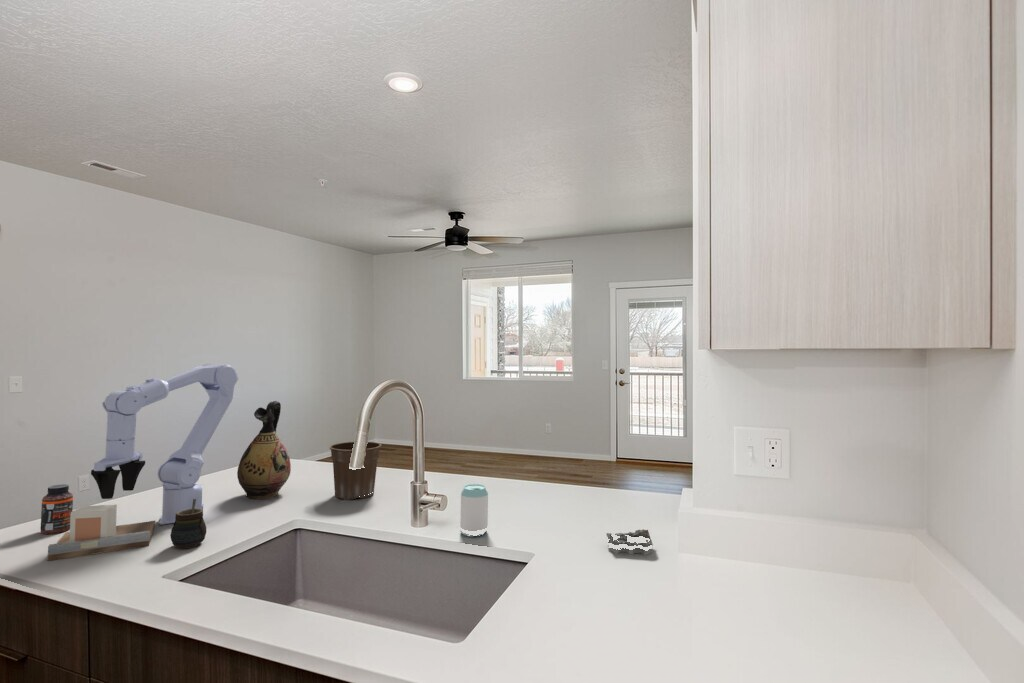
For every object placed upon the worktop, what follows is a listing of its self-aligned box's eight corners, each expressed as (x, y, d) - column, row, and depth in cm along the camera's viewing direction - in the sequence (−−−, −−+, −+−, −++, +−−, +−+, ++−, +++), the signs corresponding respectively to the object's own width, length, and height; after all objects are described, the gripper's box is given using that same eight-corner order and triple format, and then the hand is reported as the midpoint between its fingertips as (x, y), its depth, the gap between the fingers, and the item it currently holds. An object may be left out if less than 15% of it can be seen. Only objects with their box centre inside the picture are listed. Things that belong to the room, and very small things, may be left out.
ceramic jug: (276, 502, 154) (278, 404, 155) (226, 501, 155) (229, 403, 155) (300, 487, 171) (302, 399, 172) (255, 486, 172) (257, 398, 172)
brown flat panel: (154, 525, 133) (154, 520, 133) (148, 545, 119) (149, 540, 119) (65, 537, 124) (65, 532, 124) (47, 560, 110) (47, 555, 110)
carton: (81, 540, 119) (82, 506, 119) (115, 538, 120) (116, 504, 121) (69, 547, 114) (70, 512, 115) (105, 545, 116) (106, 510, 116)
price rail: (149, 539, 120) (149, 530, 120) (148, 540, 119) (149, 532, 119) (49, 553, 111) (49, 544, 111) (47, 555, 110) (48, 546, 110)
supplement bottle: (52, 536, 125) (54, 489, 125) (33, 533, 126) (35, 488, 126) (78, 527, 130) (79, 483, 131) (59, 525, 132) (61, 482, 132)
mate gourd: (167, 553, 115) (169, 509, 115) (172, 542, 122) (173, 500, 122) (204, 548, 118) (205, 505, 119) (207, 537, 125) (208, 497, 125)
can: (492, 531, 132) (492, 485, 133) (479, 540, 126) (480, 491, 126) (468, 526, 135) (469, 482, 135) (455, 535, 129) (455, 488, 129)
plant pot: (343, 487, 173) (344, 439, 173) (388, 489, 171) (388, 441, 171) (318, 500, 157) (319, 448, 157) (367, 503, 155) (368, 450, 155)
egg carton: (650, 545, 124) (650, 529, 125) (653, 558, 117) (653, 540, 117) (606, 542, 126) (606, 525, 126) (607, 554, 119) (607, 536, 119)
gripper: (117, 444, 119) (114, 502, 118) (155, 435, 133) (153, 486, 133) (85, 443, 118) (82, 502, 117) (127, 434, 132) (124, 486, 132)
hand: (117, 494), depth 125 cm, fingers open, 7 cm apart
